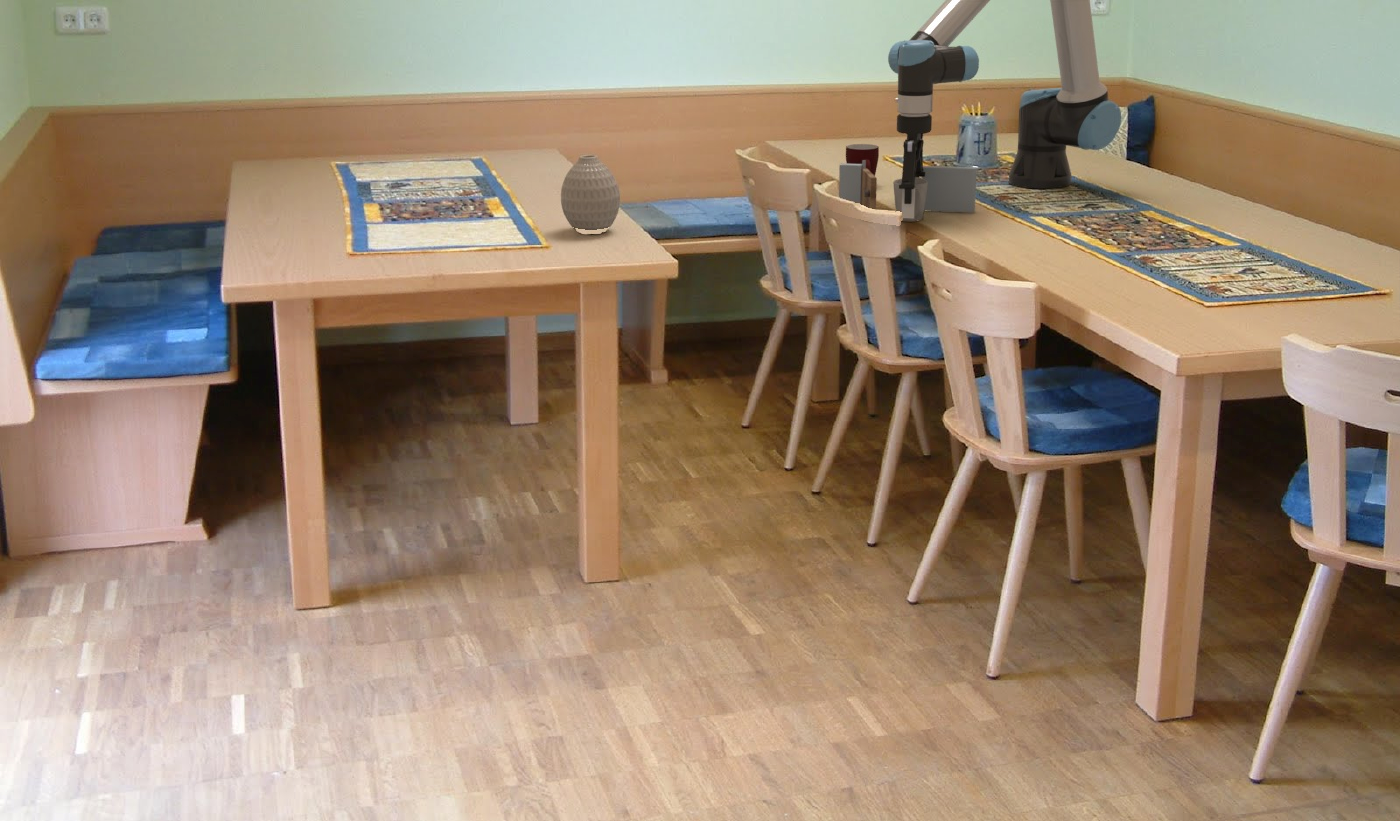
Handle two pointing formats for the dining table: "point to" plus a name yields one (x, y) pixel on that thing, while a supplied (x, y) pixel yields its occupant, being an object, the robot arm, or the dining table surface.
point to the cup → (919, 198)
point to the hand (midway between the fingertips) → (911, 212)
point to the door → (868, 189)
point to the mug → (863, 155)
